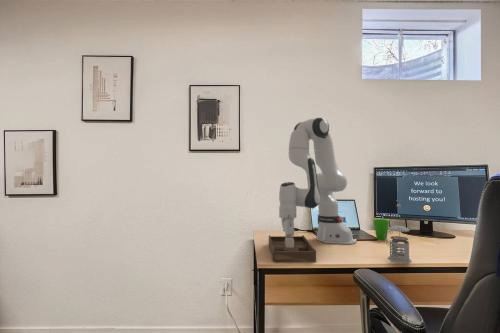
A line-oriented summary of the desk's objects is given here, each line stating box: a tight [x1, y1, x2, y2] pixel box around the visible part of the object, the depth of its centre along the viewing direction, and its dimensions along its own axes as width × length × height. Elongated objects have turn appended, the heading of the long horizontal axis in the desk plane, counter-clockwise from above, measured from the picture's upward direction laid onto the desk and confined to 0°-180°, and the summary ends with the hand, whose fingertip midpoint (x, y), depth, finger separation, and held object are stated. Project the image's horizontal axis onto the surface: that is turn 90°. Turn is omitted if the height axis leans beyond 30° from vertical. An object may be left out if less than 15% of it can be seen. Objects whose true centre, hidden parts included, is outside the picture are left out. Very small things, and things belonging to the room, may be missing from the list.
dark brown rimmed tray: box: [268, 235, 317, 263], centre depth 142 cm, size 30×19×5 cm, turn 0°
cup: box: [372, 218, 390, 241], centre depth 169 cm, size 9×9×11 cm
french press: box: [384, 203, 413, 264], centre depth 131 cm, size 10×12×25 cm
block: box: [285, 238, 294, 248], centre depth 144 cm, size 4×4×4 cm
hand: (287, 240), depth 148 cm, fingers closed
